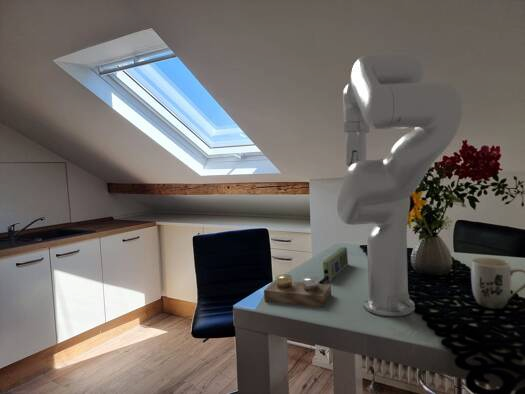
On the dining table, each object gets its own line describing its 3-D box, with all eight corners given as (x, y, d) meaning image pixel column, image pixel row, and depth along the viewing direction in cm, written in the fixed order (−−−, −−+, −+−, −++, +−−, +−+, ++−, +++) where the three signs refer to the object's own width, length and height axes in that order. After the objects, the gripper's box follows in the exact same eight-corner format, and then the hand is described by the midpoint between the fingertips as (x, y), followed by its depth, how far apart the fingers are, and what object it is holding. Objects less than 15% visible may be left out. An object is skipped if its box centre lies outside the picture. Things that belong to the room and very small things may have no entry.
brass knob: (294, 296, 105) (293, 277, 104) (279, 298, 104) (278, 280, 103) (289, 291, 109) (288, 273, 109) (275, 293, 108) (274, 275, 108)
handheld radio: (349, 265, 134) (326, 287, 112) (340, 264, 135) (316, 287, 114) (348, 247, 133) (324, 266, 112) (339, 247, 135) (314, 265, 113)
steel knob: (322, 299, 102) (321, 279, 101) (307, 301, 101) (306, 282, 100) (315, 293, 106) (315, 275, 105) (301, 296, 105) (300, 277, 104)
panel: (331, 294, 105) (330, 284, 105) (323, 307, 97) (322, 296, 97) (276, 289, 112) (275, 280, 112) (264, 300, 104) (263, 290, 104)
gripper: (348, 130, 121) (350, 186, 123) (339, 128, 107) (341, 191, 109) (372, 128, 118) (373, 185, 120) (365, 126, 104) (367, 190, 106)
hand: (358, 188), depth 114 cm, fingers closed
